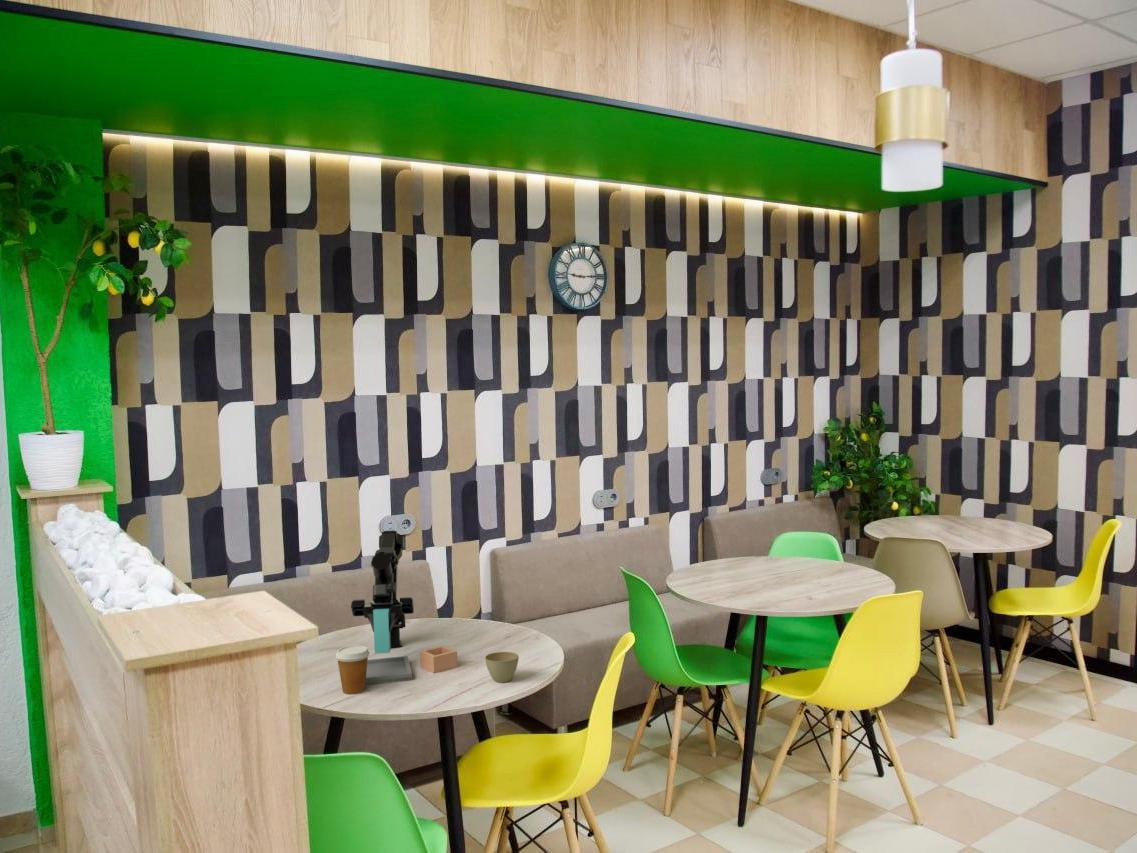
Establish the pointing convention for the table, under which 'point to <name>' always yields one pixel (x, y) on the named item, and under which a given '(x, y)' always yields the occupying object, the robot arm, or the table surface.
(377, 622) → the teal block
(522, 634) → the table surface
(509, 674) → the flower pot
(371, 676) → the tray
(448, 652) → the holder
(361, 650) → the disposable coffee cup
